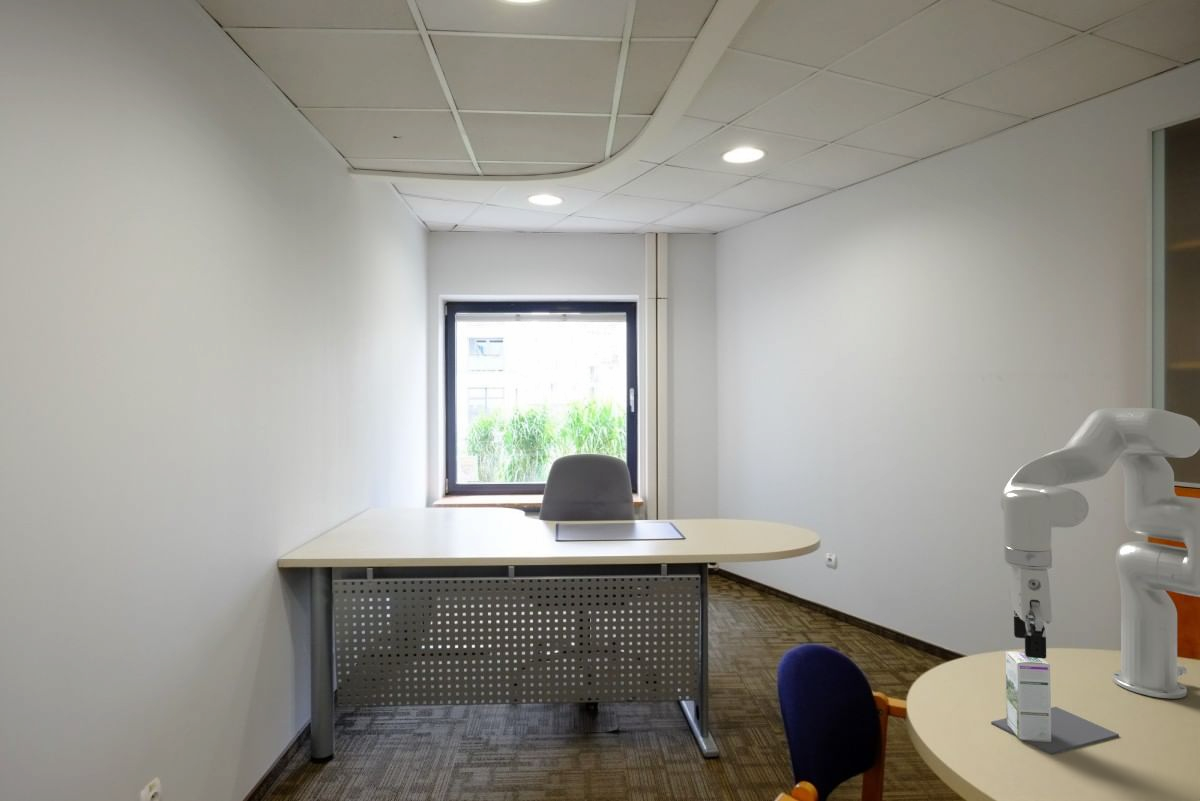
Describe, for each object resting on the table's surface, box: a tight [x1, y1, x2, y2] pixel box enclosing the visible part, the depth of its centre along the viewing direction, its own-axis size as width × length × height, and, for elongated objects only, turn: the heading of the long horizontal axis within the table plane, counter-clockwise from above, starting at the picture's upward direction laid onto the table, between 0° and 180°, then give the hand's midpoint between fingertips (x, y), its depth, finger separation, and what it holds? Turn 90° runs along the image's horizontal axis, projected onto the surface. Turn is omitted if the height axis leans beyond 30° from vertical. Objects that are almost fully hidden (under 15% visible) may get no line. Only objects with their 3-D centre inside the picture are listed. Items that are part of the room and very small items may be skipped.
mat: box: [990, 706, 1120, 755], centre depth 128 cm, size 18×12×1 cm, turn 110°
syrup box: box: [1005, 650, 1052, 742], centre depth 126 cm, size 6×6×14 cm
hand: (1029, 647), depth 126 cm, fingers open, 9 cm apart
